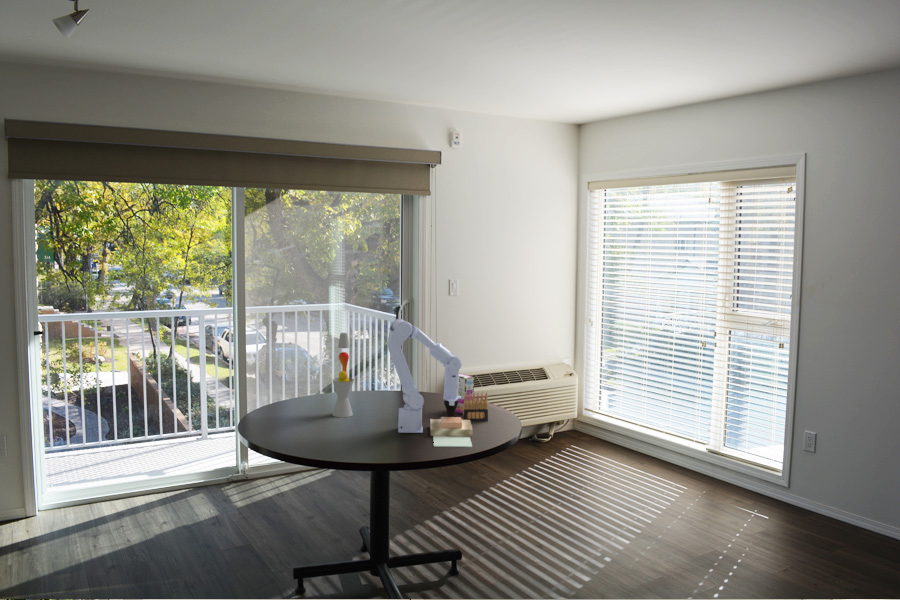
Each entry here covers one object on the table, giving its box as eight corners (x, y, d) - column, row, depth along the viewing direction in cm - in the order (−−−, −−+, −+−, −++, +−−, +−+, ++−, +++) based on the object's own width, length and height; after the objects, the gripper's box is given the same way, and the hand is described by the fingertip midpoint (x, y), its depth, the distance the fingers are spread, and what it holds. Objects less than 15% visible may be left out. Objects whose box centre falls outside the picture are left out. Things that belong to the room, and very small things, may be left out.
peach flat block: (441, 428, 245) (441, 422, 245) (440, 422, 253) (440, 416, 253) (461, 428, 246) (462, 422, 246) (460, 422, 254) (460, 417, 254)
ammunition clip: (463, 421, 267) (464, 393, 266) (462, 420, 269) (463, 392, 268) (488, 421, 269) (489, 392, 268) (486, 419, 271) (487, 391, 270)
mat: (433, 446, 232) (433, 445, 232) (433, 437, 244) (433, 436, 244) (472, 447, 232) (472, 446, 232) (469, 437, 244) (469, 436, 244)
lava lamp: (333, 411, 276) (334, 331, 274) (354, 412, 277) (355, 331, 274) (330, 417, 267) (331, 334, 265) (352, 417, 268) (354, 334, 265)
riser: (430, 436, 244) (430, 428, 244) (430, 426, 258) (430, 419, 258) (472, 437, 245) (472, 429, 245) (469, 427, 259) (469, 419, 258)
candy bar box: (473, 414, 280) (474, 377, 278) (464, 415, 277) (465, 378, 275) (458, 408, 288) (459, 372, 287) (449, 410, 285) (450, 373, 284)
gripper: (462, 389, 248) (461, 424, 249) (460, 381, 263) (459, 414, 264) (444, 389, 248) (443, 423, 249) (443, 381, 262) (442, 414, 263)
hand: (450, 419), depth 256 cm, fingers closed
